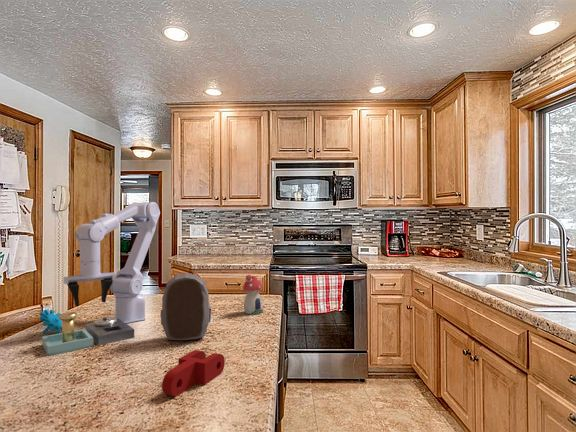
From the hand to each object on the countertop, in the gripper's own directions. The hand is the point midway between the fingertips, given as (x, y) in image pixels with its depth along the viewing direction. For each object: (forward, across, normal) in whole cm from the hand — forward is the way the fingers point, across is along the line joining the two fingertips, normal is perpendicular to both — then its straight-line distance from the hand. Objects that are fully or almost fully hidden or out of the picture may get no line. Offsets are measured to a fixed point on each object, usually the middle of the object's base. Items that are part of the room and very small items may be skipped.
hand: (90, 303), depth 117 cm
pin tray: (+9, +8, +9) cm, 15 cm away
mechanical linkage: (+10, -8, +54) cm, 56 cm away
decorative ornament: (+10, -54, +14) cm, 56 cm away
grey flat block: (+9, -4, +6) cm, 12 cm away
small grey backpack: (+10, -21, +25) cm, 34 cm away
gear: (+10, +8, -8) cm, 15 cm away
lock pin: (+9, +8, +9) cm, 15 cm away
